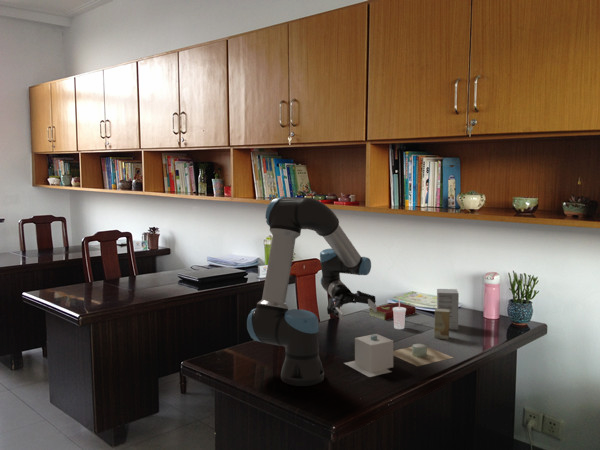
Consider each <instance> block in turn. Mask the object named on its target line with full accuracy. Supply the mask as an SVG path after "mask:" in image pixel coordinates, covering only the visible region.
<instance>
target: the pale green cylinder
mask: <svg viewBox="0 0 600 450" xmlns="http://www.w3.org/2000/svg"><path fill="white" fill-rule="evenodd" d="M411 347H412V355H413V356H415V357H426V356H427V347H428V346H427V345H426V344H423V343H414V344H412V346H411Z"/></svg>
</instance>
